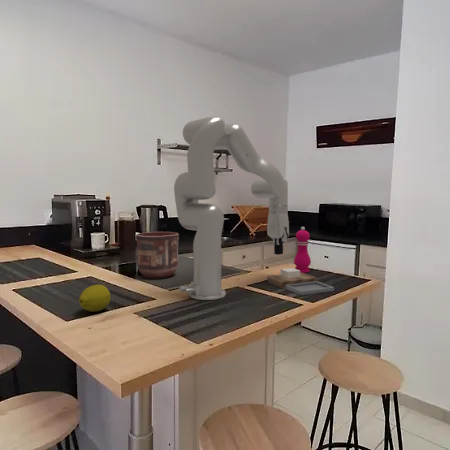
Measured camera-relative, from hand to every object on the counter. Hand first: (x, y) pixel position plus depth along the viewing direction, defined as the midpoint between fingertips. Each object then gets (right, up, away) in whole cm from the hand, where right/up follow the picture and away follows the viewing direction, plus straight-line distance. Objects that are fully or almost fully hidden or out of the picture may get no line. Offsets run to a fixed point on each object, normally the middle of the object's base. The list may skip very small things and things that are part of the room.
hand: (278, 254), depth 156 cm
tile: (+3, -8, -8) cm, 12 cm away
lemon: (-61, -14, -42) cm, 76 cm away
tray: (+8, -12, -19) cm, 24 cm away
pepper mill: (+12, -9, +12) cm, 19 cm away
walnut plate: (+4, -11, -9) cm, 15 cm away
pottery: (-50, -10, +5) cm, 52 cm away
